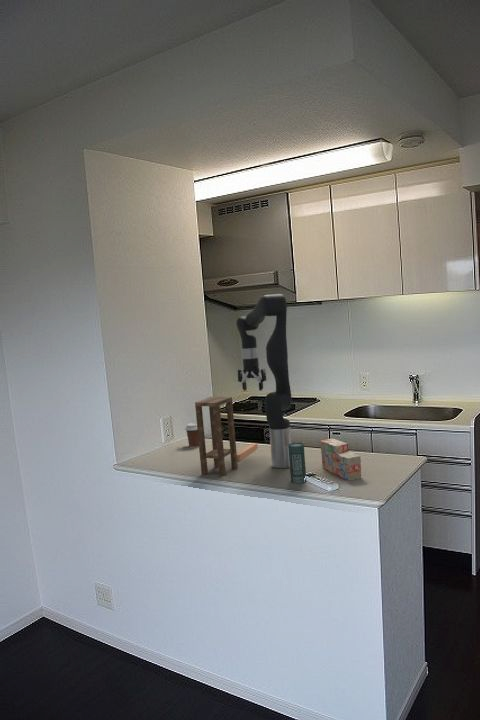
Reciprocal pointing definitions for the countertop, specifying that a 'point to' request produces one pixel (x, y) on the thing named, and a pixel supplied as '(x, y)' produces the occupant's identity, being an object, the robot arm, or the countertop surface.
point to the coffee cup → (192, 435)
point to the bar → (246, 451)
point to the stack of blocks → (340, 459)
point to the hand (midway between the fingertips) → (252, 390)
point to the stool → (216, 434)
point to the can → (297, 462)
